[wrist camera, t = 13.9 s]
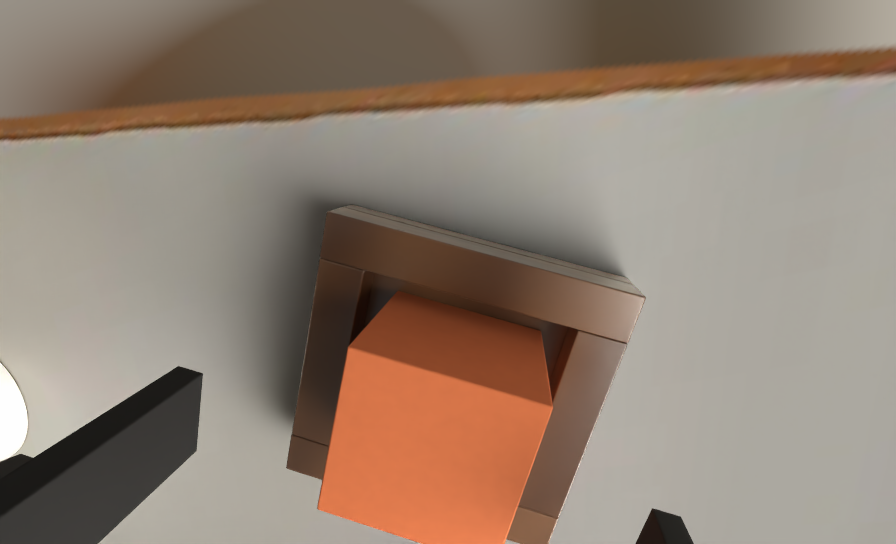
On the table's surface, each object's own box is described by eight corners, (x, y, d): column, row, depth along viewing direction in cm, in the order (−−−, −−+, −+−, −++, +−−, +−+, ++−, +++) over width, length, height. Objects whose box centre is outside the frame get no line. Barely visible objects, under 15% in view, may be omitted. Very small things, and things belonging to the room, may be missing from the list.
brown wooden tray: (311, 433, 21) (285, 468, 19) (351, 203, 18) (326, 210, 16) (541, 506, 20) (545, 552, 18) (628, 278, 17) (647, 297, 15)
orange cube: (370, 413, 19) (316, 510, 14) (397, 289, 17) (347, 346, 12) (501, 453, 19) (495, 568, 13) (541, 330, 17) (554, 407, 12)
